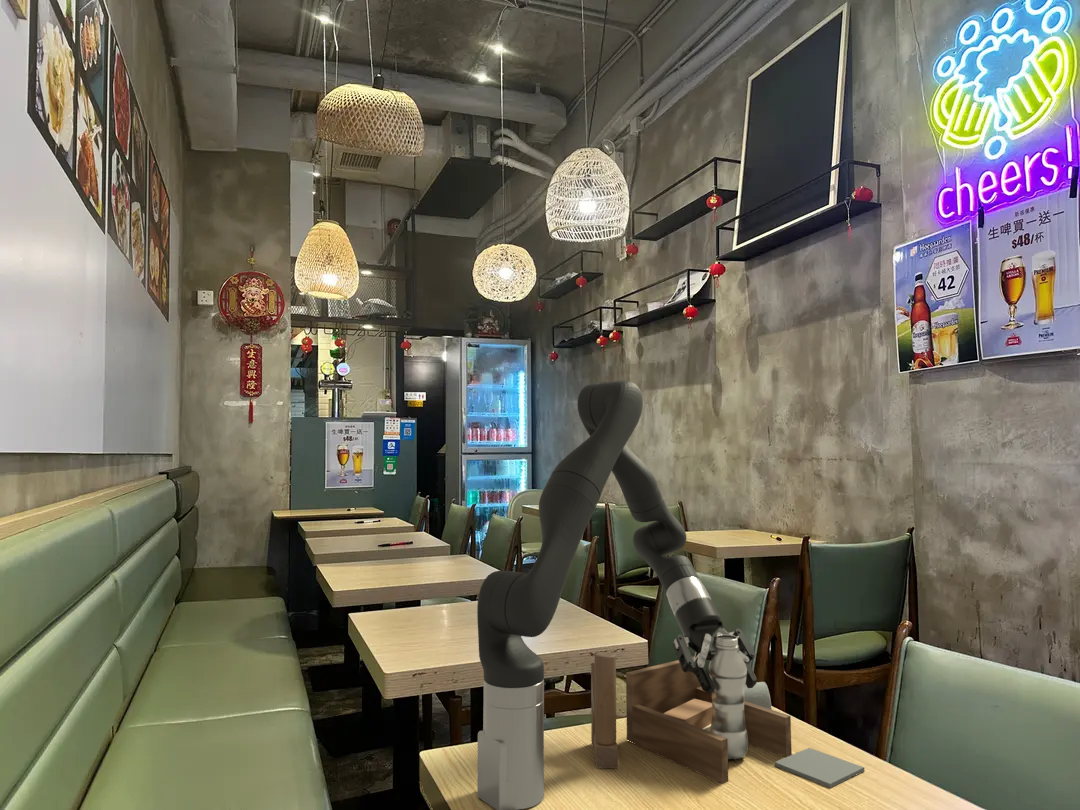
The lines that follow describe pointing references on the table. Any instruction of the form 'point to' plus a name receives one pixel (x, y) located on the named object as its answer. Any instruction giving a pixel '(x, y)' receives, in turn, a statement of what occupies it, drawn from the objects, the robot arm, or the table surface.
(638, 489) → the robot arm
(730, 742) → the silver bottle
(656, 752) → the walnut rack
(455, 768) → the table surface
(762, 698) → the ceramic mug
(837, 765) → the slate mat
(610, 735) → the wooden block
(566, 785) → the table surface
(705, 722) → the tan rectangular block
